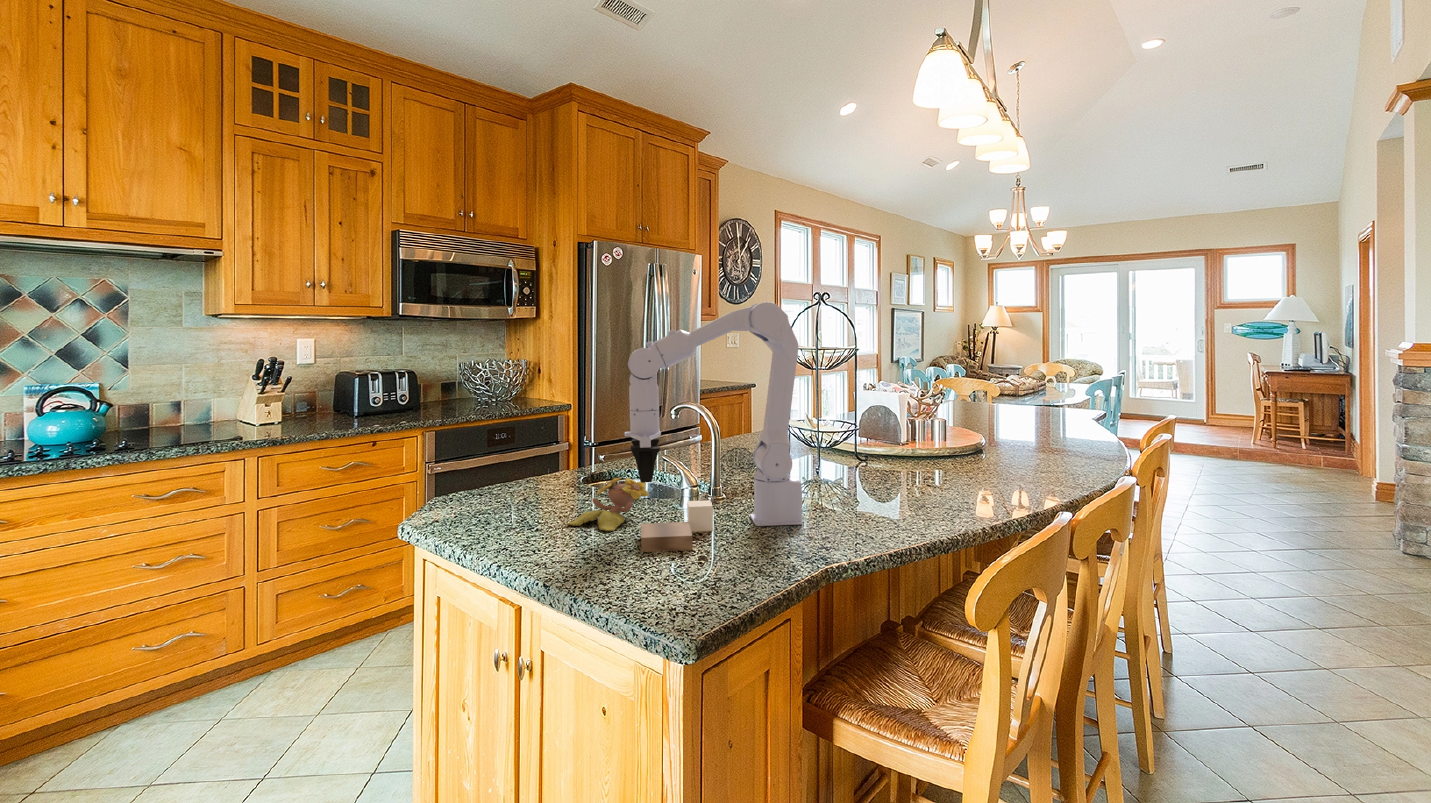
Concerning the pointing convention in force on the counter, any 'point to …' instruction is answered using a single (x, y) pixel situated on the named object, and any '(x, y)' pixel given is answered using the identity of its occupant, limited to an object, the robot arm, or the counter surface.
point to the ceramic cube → (700, 515)
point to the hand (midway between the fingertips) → (646, 477)
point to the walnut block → (666, 536)
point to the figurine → (619, 497)
